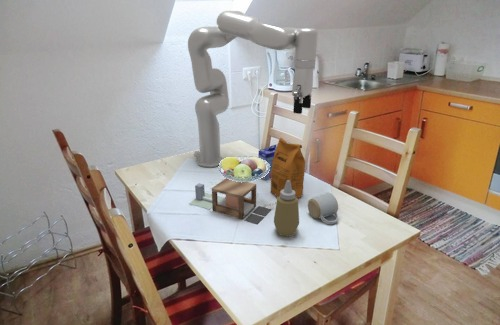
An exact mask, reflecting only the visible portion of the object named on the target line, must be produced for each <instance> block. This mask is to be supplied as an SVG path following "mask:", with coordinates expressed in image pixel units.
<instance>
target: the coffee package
mask: <svg viewBox="0 0 500 325" xmlns="http://www.w3.org/2000/svg"><path fill="white" fill-rule="evenodd" d="M276 147H277V148H276V151H275V154H274V158H273V162H272V170H271V178H270V193H271V194H273V195H275V196H276V198H278V197H279V196H280V191H281V190H283V189H284V188H285V185H286V181H287V180H290V182H291V187H292V190H294V191H295V193H296V194H295V197H296V198H301V197H302V196H303V195H304V181H305V170H306V160H305V157H304V154H303V152H302V148H303V145H302V144H298V143H290V142H287V141H286V140H285V139H284V138H282V137H280V138H279V139H278V142H277V145H276Z"/></svg>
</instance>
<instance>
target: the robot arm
mask: <svg viewBox="0 0 500 325" xmlns="http://www.w3.org/2000/svg"><path fill="white" fill-rule="evenodd" d="M236 38H239V39H240V38H241V39H244V40H246V41H250V42H251V43H253V44H255V45H257V46H261V47H264V48H268V49H271V50H275V51H285V50H290V49H294V52H295V53H294V65H293V66H294V67H293V68H294V71H293V72H294V73H293V74H294V75H293V79H292V80H293V82H292V90H291V94H292V96H293V109H292V110H293V112H292V113H293V114H297V115H301V114H303V108H304V109H311V105H312V104H311V103H312V92H313V87H314V70H315V69H316V60H317V45H318V44H317V43H318V31H317V29H316V28H306V27H305V28H301V27H300V28H297V27H292V26H290V27H289V26H284V27H278V26H273V25H269V24H265V23H262V22H260V19H258V17H255V16H251V15H246V14H245V13H244V12H242V11H239V10H224V11H222V12H220V13H219V14H218V15H217V18H216V26H201V27H198V28H196V29H194V30H193V31H192V32H191V33H190V34H189V37H188V39H187V50H188V53H189V57H190V62H191V68H192V74H193V81H194V86H195V90H197V91H198V92H199V93H202V94H206V93H209V94H208V95H204V96H201V97H200V98H198V99H197V100H196V102H195V106H194V110H195V116H196V119H197V126H198V127H197V128H198V144H199V145H198V146H199V151H198V150H195V151H194V154H193V157H197V160H196V163H197V165H198V166H199V167H202V168H215V167H219V166H218V165H219V163H220V161H221V160H222V159H224V158H223V157H221V140H220V139H221V134H220V133H221V131H220V123H219V120H218V118H217V116H218V115H220V114H223V113H224V112H226V111H227V110H228V108H229V105H230V103H229V102H230V100H229V99H230V98H229V93H228V92H229V90H228V85H227V84H228V83H227V79H226V78H227V77H226V76H225V73H224V71H222V70H221V69H220V68H213V64H212V63H213V62H212V58H211V56H210V54H209V52H208V50H209V49H216V48H222V47H225V46H226V45H228V44H229V43H231V42H232V41H234V40H235V39H236Z"/></svg>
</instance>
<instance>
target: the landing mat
mask: <svg viewBox="0 0 500 325" xmlns="http://www.w3.org/2000/svg"><path fill="white" fill-rule="evenodd" d="M205 197H208V198H212V193H208V192H205ZM223 198H225V197H224V196H219V195H217V200H219V201H221V200H222V199H223ZM188 203H189V205H192V206H196V207H199V208H202V209H206V210H211V209H213V206H212V202H210V201H207V200H203V199H202V200H198V199H196V198H195V199H194V200H192V201H190V202H188Z"/></svg>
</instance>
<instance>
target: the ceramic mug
mask: <svg viewBox="0 0 500 325" xmlns="http://www.w3.org/2000/svg"><path fill="white" fill-rule="evenodd" d="M307 210H308V212H309V215H311V217H313V218H314V219H321V221H322V222H323V223H325V224H327V225H334V224H336V223H337V222H338V220H339V215H338V211H339V205H338V200H337V198H336V196H335V195H333V193H331V192H325V193H323V194H320V195H317V196H314V197H312V198H310V199H309V200H308V201H307ZM333 215H334V217H335V220H331V221H330V220H328V219H326V217H330V216H333Z"/></svg>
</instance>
